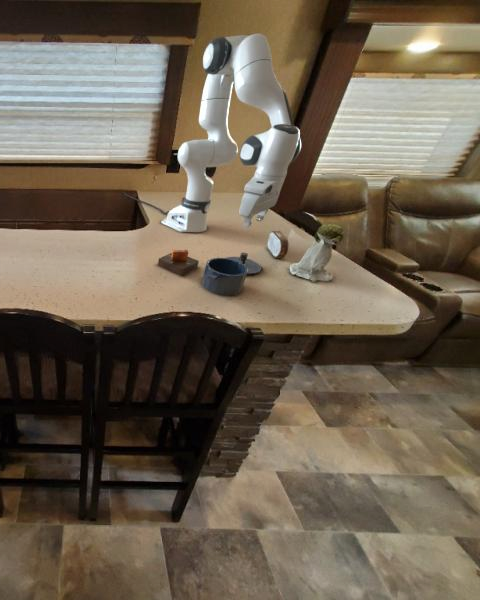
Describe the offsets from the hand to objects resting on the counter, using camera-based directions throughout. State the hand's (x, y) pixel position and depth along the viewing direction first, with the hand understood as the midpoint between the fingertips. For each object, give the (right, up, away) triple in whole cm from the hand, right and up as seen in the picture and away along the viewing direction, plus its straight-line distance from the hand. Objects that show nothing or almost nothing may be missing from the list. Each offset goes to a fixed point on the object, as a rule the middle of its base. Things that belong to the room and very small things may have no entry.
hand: (252, 223), depth 103 cm
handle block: (-24, -14, +10) cm, 29 cm away
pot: (-12, -22, -2) cm, 25 cm away
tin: (+19, -8, +18) cm, 28 cm away
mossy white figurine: (+23, -18, +4) cm, 29 cm away
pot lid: (0, -14, +8) cm, 16 cm away
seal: (-24, -12, +8) cm, 27 cm away
